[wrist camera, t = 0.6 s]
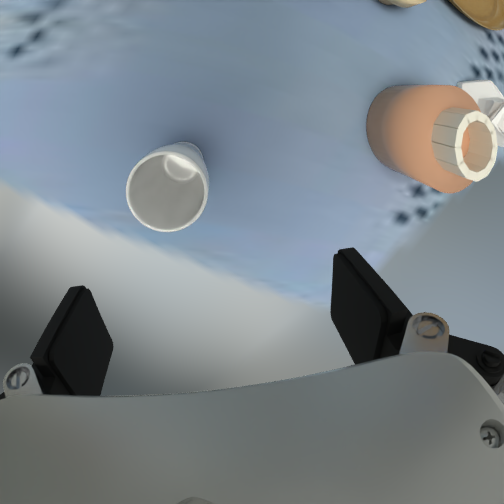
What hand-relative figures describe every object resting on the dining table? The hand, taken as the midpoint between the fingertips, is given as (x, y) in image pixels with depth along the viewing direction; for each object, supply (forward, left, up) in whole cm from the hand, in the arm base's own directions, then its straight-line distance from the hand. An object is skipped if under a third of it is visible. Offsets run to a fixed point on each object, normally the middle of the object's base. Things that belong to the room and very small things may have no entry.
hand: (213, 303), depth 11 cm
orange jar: (-8, +26, -29) cm, 40 cm away
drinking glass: (0, -4, -29) cm, 29 cm away
